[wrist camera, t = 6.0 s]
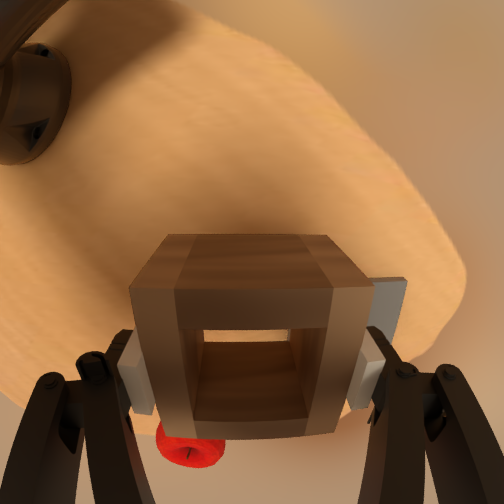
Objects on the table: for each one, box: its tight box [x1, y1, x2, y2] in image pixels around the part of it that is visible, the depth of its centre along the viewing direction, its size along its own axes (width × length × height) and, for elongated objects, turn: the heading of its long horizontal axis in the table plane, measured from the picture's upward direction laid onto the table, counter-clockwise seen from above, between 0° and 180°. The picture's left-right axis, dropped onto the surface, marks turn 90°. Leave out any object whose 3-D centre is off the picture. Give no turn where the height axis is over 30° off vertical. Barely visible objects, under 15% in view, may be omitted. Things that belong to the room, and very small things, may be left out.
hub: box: [129, 234, 375, 440], centre depth 13 cm, size 8×8×6 cm
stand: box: [287, 277, 407, 345], centre depth 30 cm, size 14×14×9 cm
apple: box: [156, 421, 225, 468], centre depth 33 cm, size 9×9×11 cm
